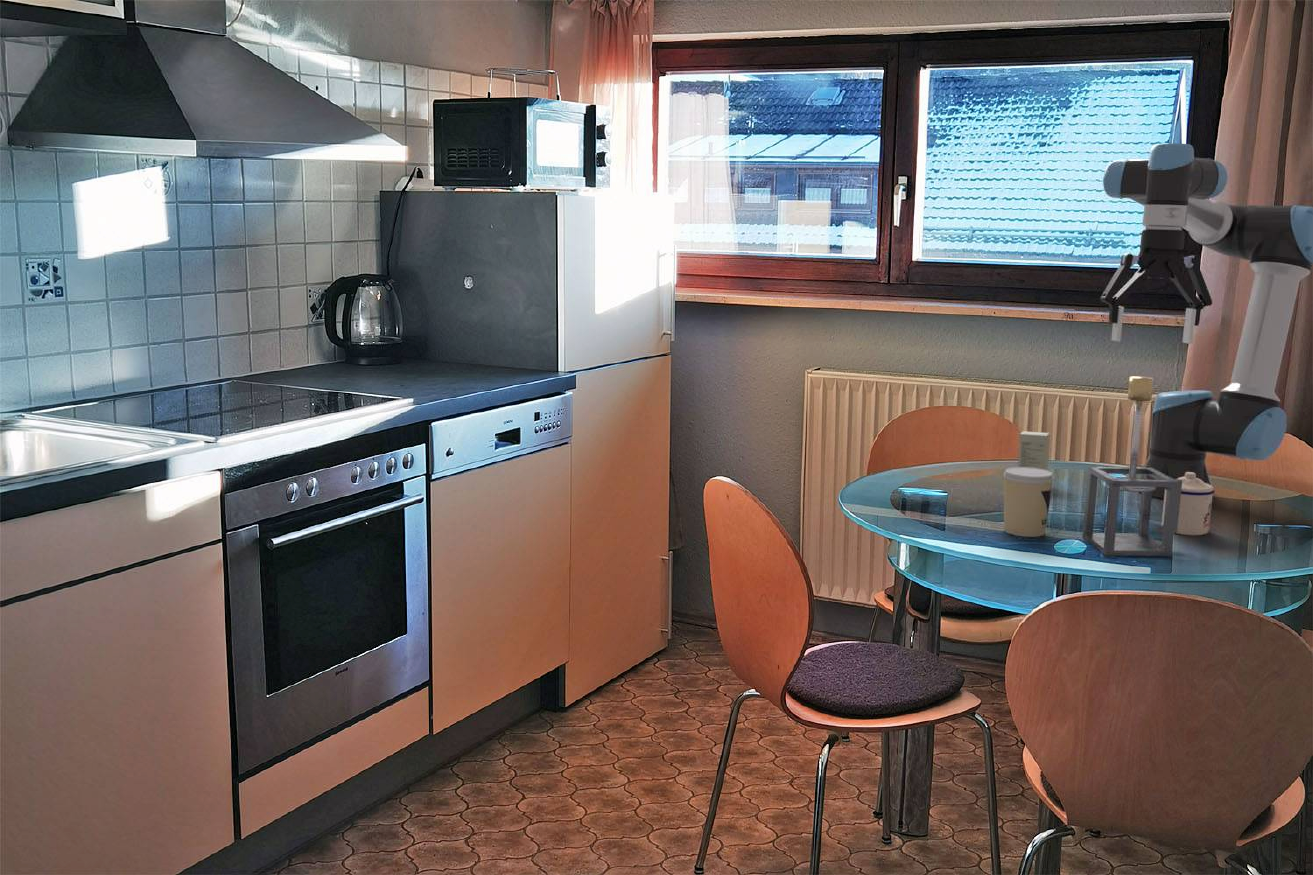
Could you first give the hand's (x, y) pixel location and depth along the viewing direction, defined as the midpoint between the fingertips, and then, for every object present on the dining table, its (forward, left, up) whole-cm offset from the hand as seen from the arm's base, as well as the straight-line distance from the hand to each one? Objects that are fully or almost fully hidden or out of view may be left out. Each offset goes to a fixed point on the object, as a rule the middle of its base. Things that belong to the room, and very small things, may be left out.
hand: (1151, 342), depth 228 cm
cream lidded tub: (+22, 0, -38) cm, 44 cm away
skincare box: (+8, -40, -38) cm, 55 cm away
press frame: (+4, +10, -38) cm, 39 cm away
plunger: (+6, +10, -26) cm, 28 cm away
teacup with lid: (-11, -4, -38) cm, 40 cm away
